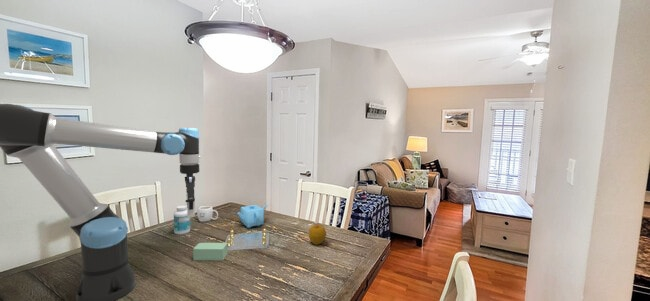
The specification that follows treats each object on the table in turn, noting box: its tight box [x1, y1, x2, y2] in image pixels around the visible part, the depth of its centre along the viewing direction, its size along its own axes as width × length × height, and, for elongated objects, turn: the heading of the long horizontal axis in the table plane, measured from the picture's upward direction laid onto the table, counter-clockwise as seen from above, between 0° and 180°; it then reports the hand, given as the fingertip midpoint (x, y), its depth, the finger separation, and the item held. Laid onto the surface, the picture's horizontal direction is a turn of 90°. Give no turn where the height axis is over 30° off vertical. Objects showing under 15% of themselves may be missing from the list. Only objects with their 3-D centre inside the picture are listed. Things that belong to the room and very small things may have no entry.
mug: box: [196, 205, 219, 223], centre depth 155 cm, size 12×8×8 cm
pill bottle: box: [173, 204, 191, 235], centre depth 137 cm, size 8×7×14 cm
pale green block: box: [192, 242, 228, 261], centre depth 113 cm, size 12×6×5 cm, turn 93°
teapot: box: [236, 204, 268, 229], centre depth 150 cm, size 16×18×11 cm
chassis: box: [224, 228, 270, 251], centre depth 128 cm, size 20×14×4 cm
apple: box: [308, 224, 327, 246], centre depth 129 cm, size 9×8×9 cm
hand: (190, 211), depth 117 cm, fingers open, 13 cm apart
